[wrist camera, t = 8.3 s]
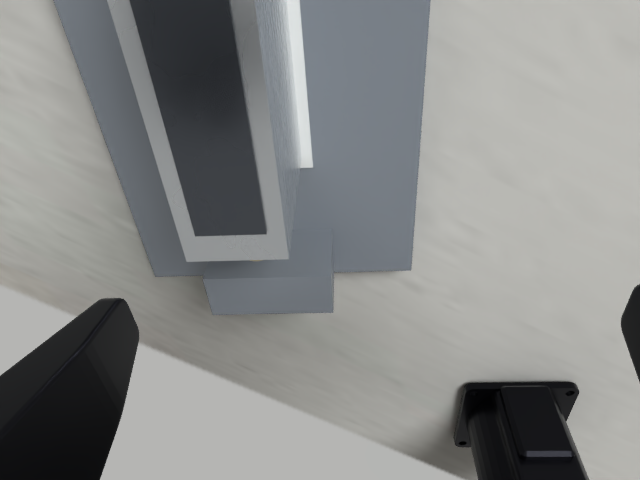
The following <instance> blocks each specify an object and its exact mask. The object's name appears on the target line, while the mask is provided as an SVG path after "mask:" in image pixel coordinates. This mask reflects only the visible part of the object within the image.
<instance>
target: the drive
mask: <svg viewBox="0 0 640 480" xmlns="http://www.w3.org/2000/svg"><path fill="white" fill-rule="evenodd" d="M107 2H108V5H109V9H110V12H111V15H112V19H113V22H114V25H115V28H116V32H117V35H118V38H119V42H120V45H121V48H122V51H123V55H124V58H125V61H126V64H127V68H128V71H129V74H130V78H131V81H132V84H133V87H134V91H135V94H136V97H137V101H138V104H139V107H140V110H141V114H142V117H143V120H144V124H145V127H146V130H147V133H148V137H149V140H150V143H151V147H152V150H153V153H154V156H155V160H156V163H157V166H158V170H159V173H160V176H161V179H162V183H163V186H164V189H165V193H166V196H167V199H168V202H169V206H170V209H171V212H172V216H173V219H174V222H175V225H176V229H177V232H178V235H179V239H180V242H181V245H182V248H183V252H184V255H185V258H186V261H187V262H202V261H241V260H281V259H289V253H290V245H291V238H292V230H293V222H294V214H295V206H296V199H297V191H298V183H299V175H300V168H301V160H302V156H301V145H300V135H299V124H298V114H297V103H296V93H295V82H294V71H293V61H292V50H291V40H290V29H289V19H288V8H287V0H107Z"/></svg>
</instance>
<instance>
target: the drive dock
mask: <svg viewBox="0 0 640 480" xmlns="http://www.w3.org/2000/svg"><path fill="white" fill-rule="evenodd" d="M54 3H55V6H56V8H57V11H58V14H59V17H60V19H61V22H62V25H63V27H64V30H65V33H66V36H67V38H68V41H69V44H70V46H71V49H72V52H73V55H74V57H75V60H76V63H77V65H78V68H79V71H80V74H81V76H82V79H83V82H84V84H85V87H86V90H87V93H88V95H89V98H90V101H91V103H92V106H93V109H94V112H95V114H96V117H97V120H98V123H99V125H100V128H101V131H102V133H103V136H104V139H105V142H106V144H107V147H108V150H109V152H110V155H111V158H112V161H113V163H114V166H115V169H116V171H117V174H118V177H119V180H120V182H121V185H122V188H123V190H124V193H125V196H126V199H127V201H128V204H129V207H130V209H131V212H132V215H133V218H134V220H135V223H136V226H137V228H138V231H139V234H140V237H141V239H142V242H143V245H144V247H145V250H146V253H147V256H148V258H149V261H150V264H151V266H152V269H153V272H154V275H155V277H161V276H202V275H204V276H203V283H204V286H205V290H206V293H207V297H208V300H209V304H210V307H211V311H212V314H213V315H230V314H282V313H333V308H334V272H365V271H406V270H411V264H412V250H413V236H414V223H415V209H416V195H417V181H418V167H419V153H420V139H421V125H422V111H423V97H424V83H425V69H426V55H427V41H428V27H429V13H430V0H287V8H288V19H289V29H290V40H291V50H292V61H293V71H294V82H295V93H296V103H297V114H298V124H299V135H300V145H301V156H302V160H301V168H300V175H299V183H298V191H297V199H296V206H295V214H294V222H293V230H292V238H291V245H290V253H289V259H281V260H241V261H202V262H187V261H186V258H185V255H184V252H183V248H182V245H181V242H180V239H179V235H178V232H177V229H176V225H175V222H174V219H173V216H172V212H171V209H170V206H169V202H168V199H167V196H166V193H165V189H164V186H163V183H162V179H161V176H160V173H159V170H158V166H157V163H156V160H155V156H154V153H153V150H152V147H151V143H150V140H149V137H148V133H147V130H146V127H145V124H144V120H143V117H142V114H141V110H140V107H139V104H138V101H137V97H136V94H135V91H134V87H133V84H132V81H131V78H130V74H129V71H128V68H127V64H126V61H125V58H124V55H123V51H122V48H121V45H120V42H119V38H118V35H117V32H116V28H115V25H114V22H113V19H112V15H111V12H110V9H109V5H108V2H107V0H54Z"/></svg>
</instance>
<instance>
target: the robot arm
mask: <svg viewBox="0 0 640 480" xmlns="http://www.w3.org/2000/svg"><path fill="white" fill-rule="evenodd" d="M621 328H622V333H623V335H624V338H625V341H626V344H627V347H628V350H629V353H630V356H631V359H632V361H633V364H634V367H635V370H636V373H637V376H638V379H639V382H640V284H639V285H637V286H636V287H635V288H634V290H633V292H632V294H631V296H630V299H629V301H628V303H627V306H626V308H625V310H624V313H623V315H622V318H621ZM138 342H139V330H138V326H137V324H136V322H135V320H134V317H133V315H132V313H131V311H130V308H129V306H128V304H127V302H126V301H125V300H124V299H121V298H105V299H101V300H99V301H97V302H96V303H94V304H93V305H92V306H91V307H89V308H88V309H87V310H85V311H84V312H83V313H81V314H80V315H79V316H78V317H76V318H75V319H74V320H72V321H71V322H70V323H69V324H67V325H66V326H65V327H64V328H62V329H61V330H59V331H58V332H57V333H55V334H54V335H53V336H52V337H50V338H49V339H48V340H46V341H45V342H44V343H43V344H41V345H40V346H39V347H37V348H36V349H35V350H33V351H32V352H31V353H29V354H28V355H27V356H25V357H24V358H23V359H22V360H20V361H19V362H18V363H16V364H15V365H14V366H12V367H11V368H10V369H9V370H7V371H6V372H5V373H3V374H2V375H1V376H0V480H100V477H101V475H102V472H103V469H104V466H105V463H106V460H107V457H108V454H109V451H110V448H111V445H112V442H113V440H114V437H115V434H116V431H117V428H118V425H119V422H120V419H121V415H122V412H123V407H124V403H125V399H126V395H127V390H128V386H129V382H130V377H131V373H132V368H133V364H134V360H135V355H136V351H137V346H138ZM578 394H579V390H578V387H577V385H576V384H575V383H572V382H538V383H470V384H468V385H466V386H465V387H464V390H463V395H462V400H461V405H460V410H459V415H458V420H457V425H456V430H455V435H454V441H455V445H456V446H458V447H471V449H472V453H473V458H474V462H475V467H476V471H477V476H478V480H589V478H588V476H587V473H586V471H585V468H584V466H583V463H582V461H581V458H580V456H579V453H578V451H577V448H576V446H575V443H574V441H573V438H572V436H571V433H570V431H569V428H568V426H567V423H566V421H567V419H568V416H569V414H570V412H571V410H572V408H573V405H574V403H575V401H576V399H577V396H578Z"/></svg>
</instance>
